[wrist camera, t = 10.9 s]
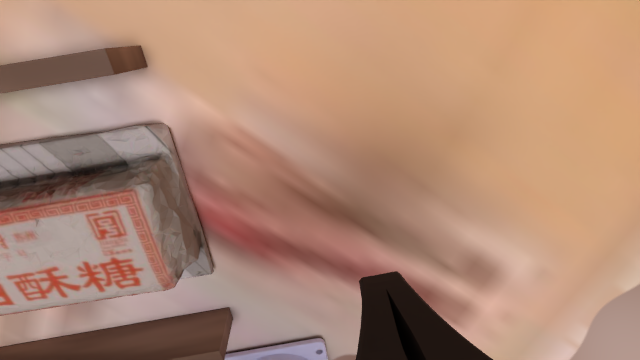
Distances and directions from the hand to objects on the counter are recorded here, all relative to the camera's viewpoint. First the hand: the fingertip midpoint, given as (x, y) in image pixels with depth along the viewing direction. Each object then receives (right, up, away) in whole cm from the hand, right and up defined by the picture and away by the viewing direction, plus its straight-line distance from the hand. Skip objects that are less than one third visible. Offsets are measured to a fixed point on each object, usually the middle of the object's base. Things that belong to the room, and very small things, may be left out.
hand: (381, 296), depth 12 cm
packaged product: (-18, +2, +9) cm, 20 cm away
